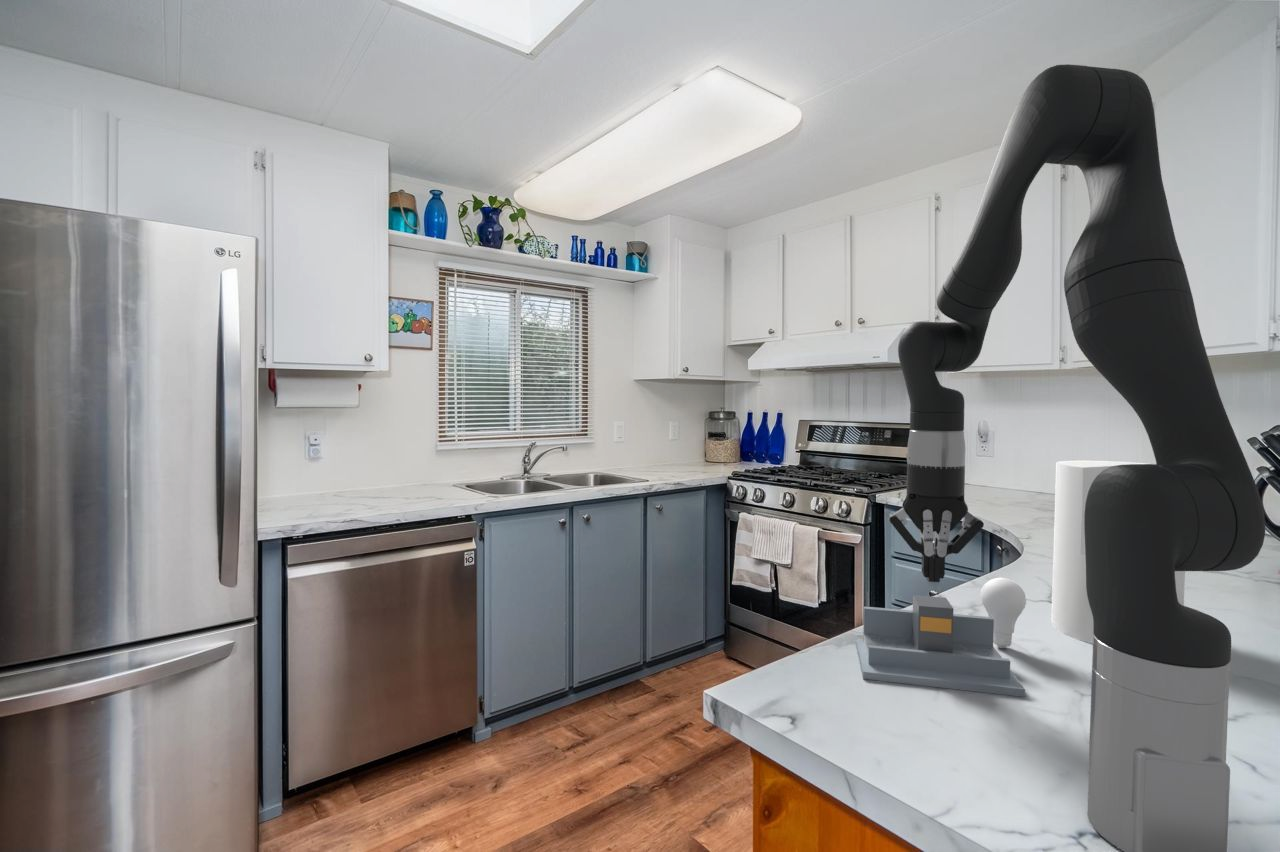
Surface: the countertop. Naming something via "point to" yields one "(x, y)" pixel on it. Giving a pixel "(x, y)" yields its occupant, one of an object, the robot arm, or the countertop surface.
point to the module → (932, 624)
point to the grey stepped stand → (935, 656)
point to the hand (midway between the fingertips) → (932, 580)
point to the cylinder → (1077, 548)
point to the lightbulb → (1003, 607)
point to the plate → (908, 644)
